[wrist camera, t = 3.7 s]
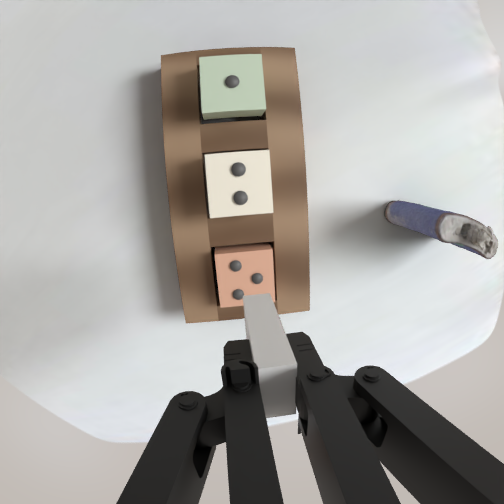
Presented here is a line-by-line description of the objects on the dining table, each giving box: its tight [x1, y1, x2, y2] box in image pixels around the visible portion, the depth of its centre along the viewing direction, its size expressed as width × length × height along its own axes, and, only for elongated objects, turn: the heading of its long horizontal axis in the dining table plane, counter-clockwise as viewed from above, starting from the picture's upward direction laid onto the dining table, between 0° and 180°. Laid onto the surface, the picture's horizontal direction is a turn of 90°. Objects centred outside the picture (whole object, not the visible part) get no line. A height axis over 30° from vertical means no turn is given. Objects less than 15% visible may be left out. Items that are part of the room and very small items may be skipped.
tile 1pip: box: [199, 54, 266, 120], centre depth 20 cm, size 4×4×3 cm
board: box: [161, 47, 310, 323], centre depth 25 cm, size 23×11×3 cm, turn 4°
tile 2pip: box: [205, 150, 273, 218], centre depth 22 cm, size 4×4×3 cm
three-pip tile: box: [215, 242, 275, 308], centre depth 25 cm, size 4×4×3 cm
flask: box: [385, 201, 498, 259], centre depth 23 cm, size 9×3×11 cm, turn 76°
